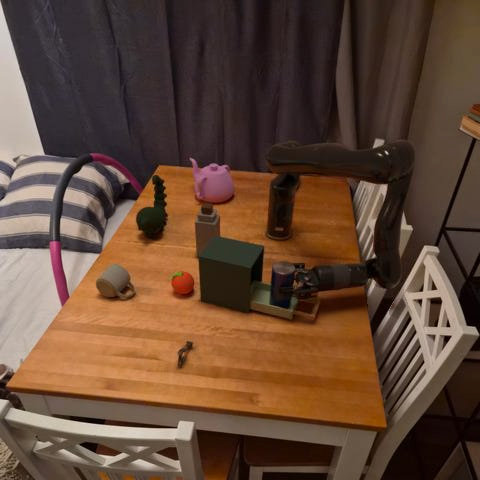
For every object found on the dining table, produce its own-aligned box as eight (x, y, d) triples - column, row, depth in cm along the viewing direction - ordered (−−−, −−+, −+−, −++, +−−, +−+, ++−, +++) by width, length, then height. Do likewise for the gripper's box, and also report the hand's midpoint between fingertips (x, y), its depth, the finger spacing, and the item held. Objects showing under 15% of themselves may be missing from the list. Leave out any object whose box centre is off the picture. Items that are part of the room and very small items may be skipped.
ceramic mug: (96, 295, 122) (91, 275, 117) (111, 280, 128) (107, 260, 123) (127, 304, 120) (122, 283, 115) (141, 288, 126) (137, 268, 120)
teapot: (207, 180, 187) (205, 150, 178) (245, 193, 178) (246, 161, 169) (174, 197, 174) (171, 165, 164) (214, 211, 164) (213, 178, 155)
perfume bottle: (215, 260, 138) (214, 211, 126) (196, 257, 139) (193, 209, 127) (220, 249, 143) (219, 202, 131) (202, 247, 144) (199, 199, 132)
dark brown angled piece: (174, 367, 101) (175, 350, 99) (185, 355, 108) (186, 339, 107) (180, 368, 100) (182, 351, 99) (191, 356, 108) (193, 341, 106)
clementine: (169, 300, 122) (167, 281, 117) (168, 286, 127) (165, 267, 122) (196, 297, 123) (194, 278, 118) (193, 283, 128) (192, 265, 123)
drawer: (320, 303, 120) (321, 295, 118) (312, 325, 113) (314, 317, 111) (253, 287, 126) (253, 279, 124) (242, 307, 118) (242, 299, 116)
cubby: (261, 289, 126) (264, 245, 115) (248, 313, 118) (250, 268, 107) (216, 279, 130) (215, 235, 119) (200, 301, 122) (198, 256, 111)
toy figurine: (152, 217, 163) (132, 245, 143) (146, 170, 152) (124, 192, 132) (175, 219, 162) (158, 247, 142) (171, 171, 151) (152, 194, 131)
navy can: (272, 294, 122) (276, 258, 114) (293, 299, 121) (298, 263, 112) (266, 307, 118) (269, 270, 109) (287, 312, 116) (292, 276, 107)
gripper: (324, 253, 119) (270, 257, 116) (342, 281, 108) (283, 287, 106) (320, 273, 124) (269, 278, 121) (336, 303, 113) (280, 308, 111)
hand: (275, 282), depth 114 cm, fingers open, 8 cm apart
